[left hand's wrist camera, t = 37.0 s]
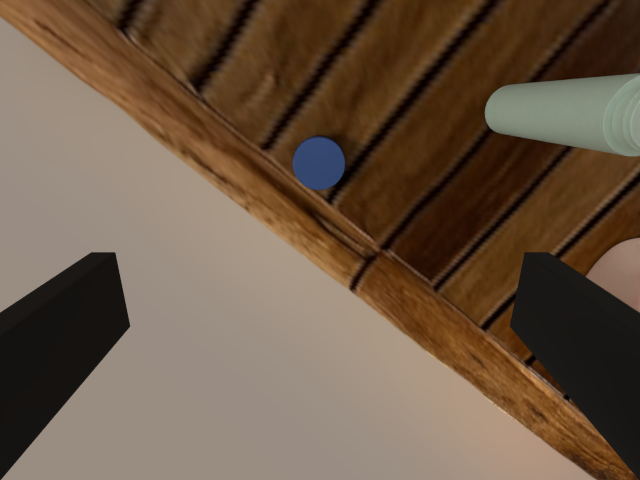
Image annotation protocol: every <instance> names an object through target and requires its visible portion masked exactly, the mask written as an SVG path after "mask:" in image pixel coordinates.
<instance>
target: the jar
mask: <svg viewBox="0 0 640 480" xmlns="http://www.w3.org/2000/svg"><path fill="white" fill-rule="evenodd" d="M485 118H486V122H487V124H488V125H489V127H490V128H491V129H492V130H493V131H495V132H497V133H501V134H506V135H512V136H517V137H523V138H529V139H534V140H540V141H545V142H551V143H557V144H562V145H568V146H574V147H579V148H585V149H590V150H596V151H602V152H607V153H613V154H619V155H624V156H640V73H638V74H626V75H615V76H604V77H592V78H581V79H569V80H558V81H547V82H535V83H524V84H512V85H506V86H503V87H501V88H499V89H498V90H497V91H495V92H494V93H493V94H492V96H491V97H490V98H489V100H488V102H487V105H486V108H485Z"/></svg>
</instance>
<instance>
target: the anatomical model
mask: <svg viewBox="0 0 640 480" xmlns="http://www.w3.org/2000/svg"><path fill="white" fill-rule="evenodd" d="M586 277H587V278H588V279H590V280H591V281H593V282H594V283H596V284H597V285H599V286H600V287H602V288H603V289H605V290H606V291H608V292H609V293H611V294H612V295H614V296H615V297H617V298H618V299H620V300H621V301H623V302H624V303H626V304H627V305H629V306H630V307H632V308H633V309H635V310H637V311H638V312H640V238H634V239H630V240H626V241H624V242H621V243H619V244H617V245H616V246H614V247H612V248H611V249H610V250H608V251H607V252H606V253H605V254H604V255H603V256H602V257H601V258H600V259H599V260H598V261H597V262H596V263H595V265H594V266H593V267H592V269H591V270H590V271H589V273H588V274H587V275H586Z"/></svg>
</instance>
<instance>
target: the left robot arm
mask: <svg viewBox="0 0 640 480" xmlns="http://www.w3.org/2000/svg"><path fill="white" fill-rule="evenodd" d="M129 327H130V323H129V318H128V313H127V308H126V303H125V298H124V293H123V288H122V283H121V278H120V274H119V269H118V264H117V259H116V254H115V253H114V252H92V253H90V254H88V255H87V256H85V257H84V258H82V259H81V260H79V261H78V262H76V263H75V264H73V265H72V266H70V267H69V268H67V269H66V270H64V271H63V272H61V273H59V274H58V275H57V276H55V277H53V278H52V279H50V280H49V281H47V282H46V283H44V284H43V285H41V286H40V287H38V288H37V289H35V290H34V291H32V292H31V293H29V294H28V295H26V296H25V297H23V298H22V299H20V300H19V301H17V302H16V303H14V304H13V305H11V306H10V307H8V308H7V309H5V310H3V311H2V312H1V313H0V480H1V479H2V478H3V477H4V475H5V474H6V473H7V472H8V471H9V469H10V468H11V467H12V466H13V465H14V463H15V462H16V461H17V460H18V459H19V458H20V456H21V455H22V454H23V453H24V452H25V450H26V449H27V448H28V447H29V446H30V445H31V443H32V442H33V441H34V440H35V439H36V437H37V436H38V435H39V434H40V433H41V432H42V430H43V429H44V428H45V427H46V426H47V424H48V423H49V422H50V421H51V420H52V418H53V417H54V416H55V415H56V414H57V413H58V411H59V410H60V409H61V408H62V407H63V405H64V404H65V403H66V402H67V401H68V400H69V398H70V397H71V396H72V395H73V394H74V392H75V391H76V390H77V389H78V388H79V386H80V385H81V384H82V383H83V382H84V381H85V379H86V378H87V377H88V376H89V375H90V373H91V372H92V371H93V370H94V369H95V367H96V366H97V365H98V364H99V363H100V362H101V360H102V359H103V358H104V357H105V356H106V354H107V353H108V352H109V351H110V350H111V349H112V347H113V346H114V345H115V344H116V343H117V341H118V340H119V339H120V338H121V337H122V336H123V334H124V333H125V332H126V331H127V330H128V328H129ZM510 327H511V328H512V330H513V331H514V332H515V333H516V334H517V336H518V337H519V338H520V339H521V340H522V341H523V343H524V344H525V345H526V346H527V347H528V349H529V350H530V351H531V352H532V353H533V354H534V356H535V357H536V358H537V359H538V360H539V362H540V363H541V364H542V365H543V366H544V368H545V369H546V370H547V371H548V372H549V373H550V375H551V376H552V377H553V378H554V379H555V381H556V382H557V383H558V384H559V385H560V386H561V388H562V389H563V390H564V391H565V392H566V394H567V395H568V396H569V397H570V398H571V400H572V401H573V402H574V403H575V404H576V405H577V407H578V408H579V409H580V410H581V411H582V413H583V414H584V415H585V416H586V417H587V418H588V420H589V421H590V422H591V423H592V424H593V426H594V427H595V428H596V429H597V430H598V432H599V433H600V434H601V435H602V436H603V437H604V439H605V440H606V441H607V442H608V443H609V445H610V446H611V447H612V448H613V449H614V450H615V452H616V453H617V454H618V455H619V456H620V458H621V459H622V460H623V461H624V462H625V464H626V465H627V466H628V467H629V468H630V469H631V471H632V472H633V473H634V474H635V475H636V477H637V478H638V479H639V480H640V312H638V311H637V310H635V309H633V308H632V307H630V306H629V305H627V304H626V303H624V302H623V301H621V300H620V299H618V298H617V297H615V296H614V295H612V294H611V293H609V292H608V291H606V290H605V289H603V288H602V287H600V286H599V285H597V284H596V283H594V282H593V281H591V280H590V279H588V278H587V277H585V276H584V275H582V274H581V273H579V272H577V271H576V270H574V269H573V268H571V267H570V266H568V265H567V264H565V263H564V262H562V261H561V260H559V259H558V258H556V257H555V256H553V255H552V254H550V253H549V252H525V254H524V259H523V264H522V269H521V274H520V278H519V283H518V288H517V293H516V298H515V303H514V308H513V313H512V318H511V323H510Z"/></svg>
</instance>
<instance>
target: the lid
mask: <svg viewBox="0 0 640 480" xmlns="http://www.w3.org/2000/svg"><path fill="white" fill-rule="evenodd" d="M293 157H294V159H293V168H294V173H295V175H296V177H297V178H298V180H299V181H300V182H301V183H302V184H303V185H305V186H306V187H308V188H311V189H315V190H323V189H327V188H330V187H332V186H333V185H335V184H336V183H337V182H338V181H339V180H340V178H341V177H342V175H343V173H344V169H345V158H344V153H343V152H342V149H341V147H339V145H338V143H336V142H335V141H334V140H332V139H330V138H329V137H328V138H327V137H324V136H318V135H317V136H314V137H313V136H312V137H311V138H307V139H306V140H305V141H302V143H301V144H300V145H299V146H298V149H297V150H296V151H295V155H294V156H293Z"/></svg>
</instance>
